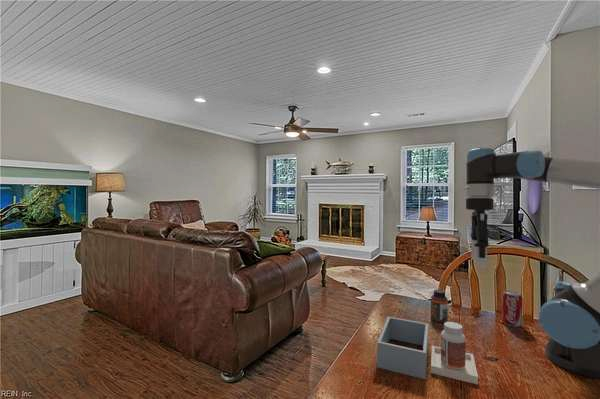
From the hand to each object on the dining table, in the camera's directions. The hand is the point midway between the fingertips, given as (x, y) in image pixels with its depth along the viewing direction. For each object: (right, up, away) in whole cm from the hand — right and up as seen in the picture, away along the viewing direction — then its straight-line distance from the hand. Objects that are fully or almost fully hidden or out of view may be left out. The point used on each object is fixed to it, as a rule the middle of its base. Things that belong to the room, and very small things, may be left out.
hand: (478, 263), depth 94 cm
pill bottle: (-14, -26, -11) cm, 32 cm away
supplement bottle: (-3, -27, +21) cm, 34 cm away
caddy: (-26, -26, -6) cm, 37 cm away
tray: (-14, -27, -11) cm, 32 cm away
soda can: (+23, -27, +17) cm, 39 cm away
